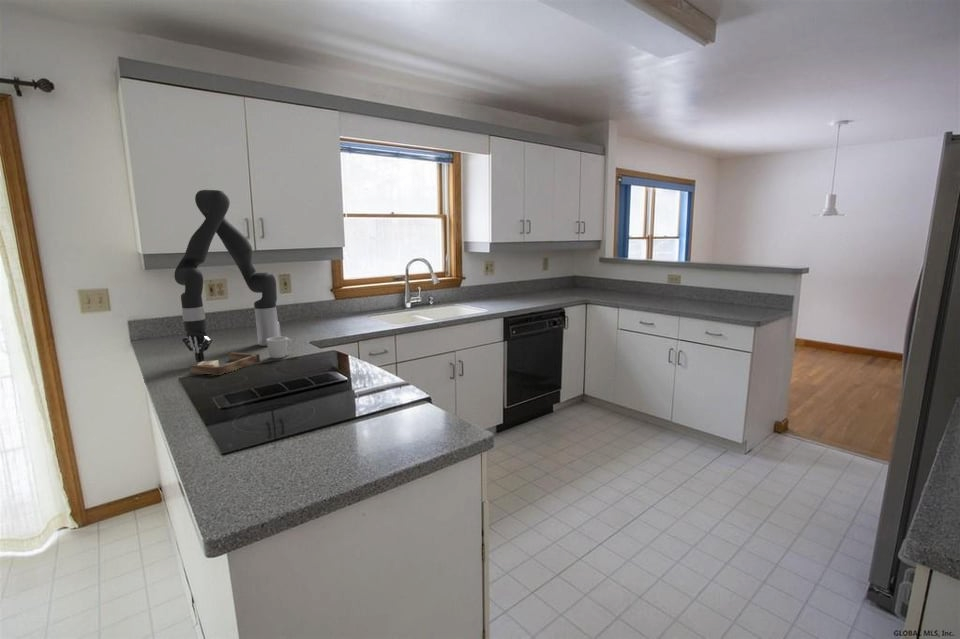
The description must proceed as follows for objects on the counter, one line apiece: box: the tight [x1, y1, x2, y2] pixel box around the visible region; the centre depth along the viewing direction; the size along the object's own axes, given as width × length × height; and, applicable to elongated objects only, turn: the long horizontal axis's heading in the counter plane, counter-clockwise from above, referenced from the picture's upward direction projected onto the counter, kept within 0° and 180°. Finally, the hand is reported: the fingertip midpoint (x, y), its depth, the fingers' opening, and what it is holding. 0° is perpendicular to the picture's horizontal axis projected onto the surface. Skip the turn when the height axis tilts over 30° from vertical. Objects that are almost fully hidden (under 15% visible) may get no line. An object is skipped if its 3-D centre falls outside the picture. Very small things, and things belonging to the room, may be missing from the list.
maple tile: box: [197, 359, 220, 367], centre depth 185 cm, size 6×6×3 cm
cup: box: [266, 335, 293, 359], centre depth 202 cm, size 11×8×8 cm
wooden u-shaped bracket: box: [189, 351, 261, 376], centre depth 188 cm, size 20×14×3 cm
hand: (200, 361), depth 192 cm, fingers closed
